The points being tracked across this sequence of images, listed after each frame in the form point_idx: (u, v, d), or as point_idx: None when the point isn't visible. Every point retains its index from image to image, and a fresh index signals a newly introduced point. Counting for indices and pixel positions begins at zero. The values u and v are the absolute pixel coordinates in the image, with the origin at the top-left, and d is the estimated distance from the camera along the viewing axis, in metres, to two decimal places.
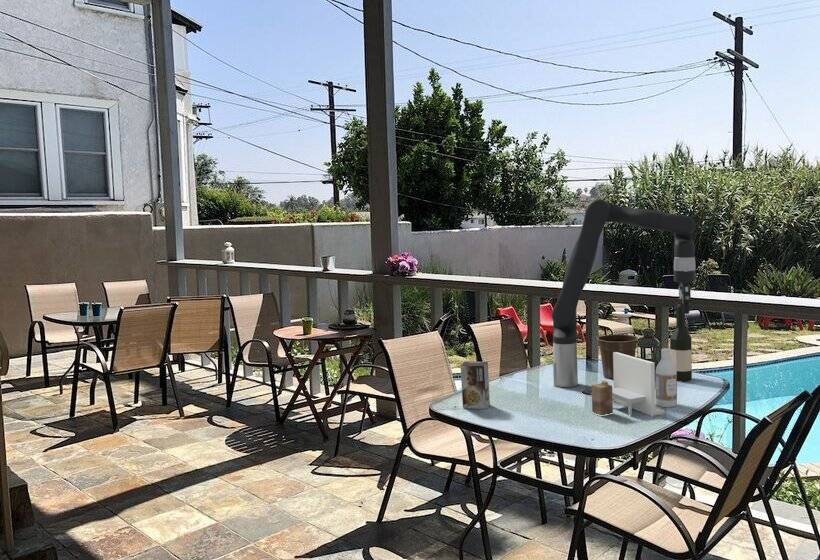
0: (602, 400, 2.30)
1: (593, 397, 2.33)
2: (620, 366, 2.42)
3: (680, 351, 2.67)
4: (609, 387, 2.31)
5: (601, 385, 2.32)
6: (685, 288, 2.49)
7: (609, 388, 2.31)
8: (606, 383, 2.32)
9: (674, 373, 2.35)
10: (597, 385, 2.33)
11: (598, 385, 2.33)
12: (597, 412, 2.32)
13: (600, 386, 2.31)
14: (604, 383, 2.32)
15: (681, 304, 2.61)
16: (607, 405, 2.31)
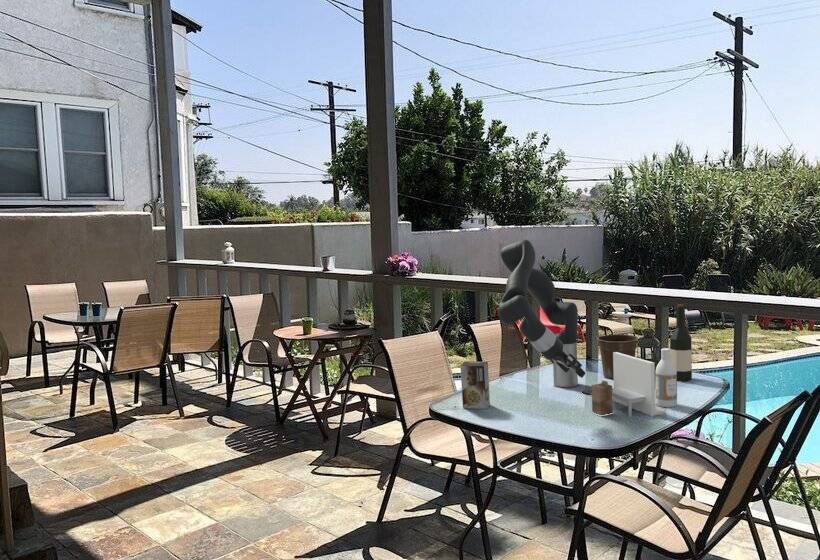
0: (602, 400, 2.30)
1: (593, 397, 2.33)
2: (620, 366, 2.42)
3: (680, 351, 2.67)
4: (609, 387, 2.31)
5: (601, 385, 2.32)
6: (569, 359, 2.18)
7: (609, 388, 2.31)
8: (606, 383, 2.32)
9: (674, 373, 2.35)
10: (597, 385, 2.33)
11: (598, 385, 2.33)
12: (597, 412, 2.32)
13: (600, 386, 2.31)
14: (604, 383, 2.32)
15: (563, 368, 2.30)
16: (607, 405, 2.31)
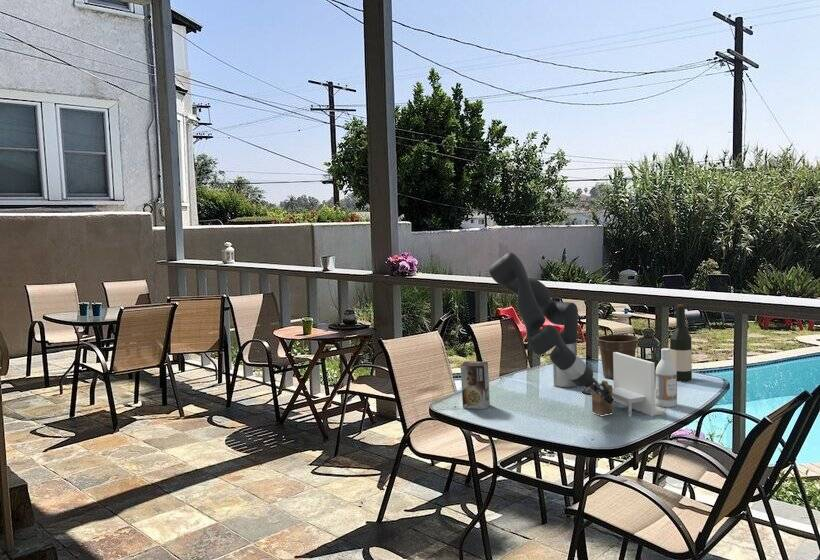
0: (602, 400, 2.30)
1: (593, 397, 2.33)
2: (620, 366, 2.42)
3: (680, 351, 2.67)
4: (609, 387, 2.31)
5: None
6: (601, 389, 2.24)
7: (609, 388, 2.31)
8: (606, 383, 2.32)
9: (674, 373, 2.35)
10: None
11: None
12: (597, 412, 2.32)
13: None
14: (604, 383, 2.32)
15: None
16: (607, 405, 2.31)
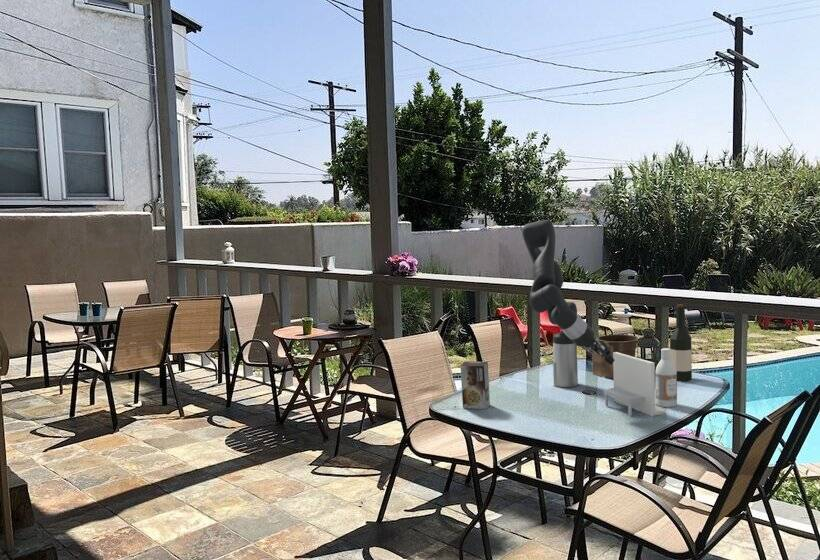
0: (603, 360, 2.29)
1: (594, 358, 2.32)
2: (620, 366, 2.42)
3: (680, 351, 2.67)
4: (610, 348, 2.30)
5: None
6: (602, 348, 2.23)
7: (610, 349, 2.30)
8: (607, 344, 2.31)
9: (674, 373, 2.35)
10: None
11: None
12: (598, 373, 2.31)
13: None
14: (605, 344, 2.31)
15: None
16: (608, 366, 2.30)
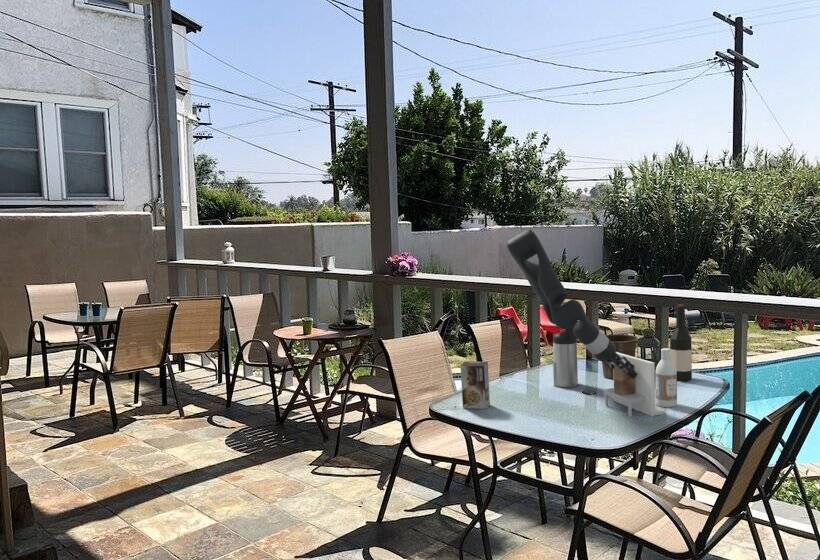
0: (624, 379, 2.33)
1: (615, 376, 2.36)
2: None
3: (680, 351, 2.67)
4: None
5: None
6: (622, 361, 2.26)
7: None
8: None
9: (674, 373, 2.35)
10: None
11: None
12: (619, 391, 2.34)
13: None
14: None
15: None
16: (630, 384, 2.34)
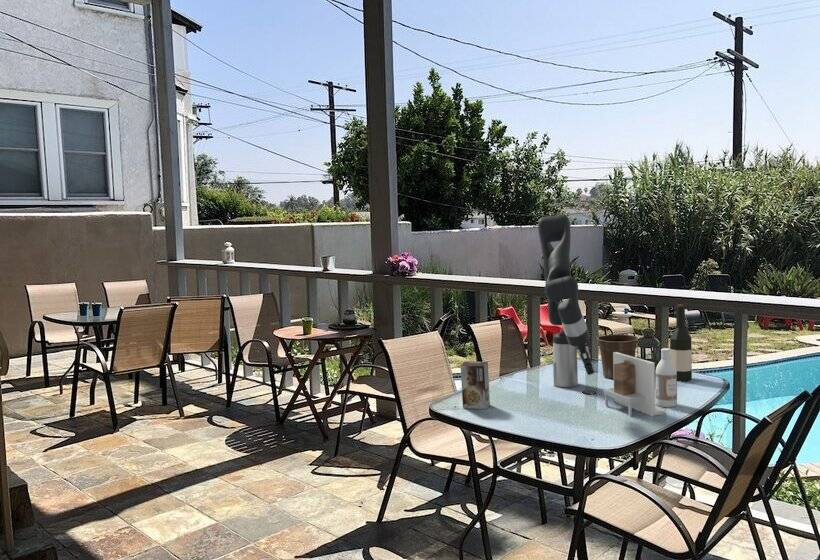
0: (624, 379, 2.33)
1: (615, 376, 2.36)
2: None
3: (680, 351, 2.67)
4: (631, 366, 2.33)
5: (623, 364, 2.35)
6: (583, 356, 2.24)
7: (631, 367, 2.33)
8: (628, 362, 2.34)
9: (674, 373, 2.35)
10: (619, 364, 2.35)
11: (620, 364, 2.35)
12: (619, 391, 2.34)
13: (622, 365, 2.34)
14: (626, 362, 2.35)
15: None
16: (629, 384, 2.34)
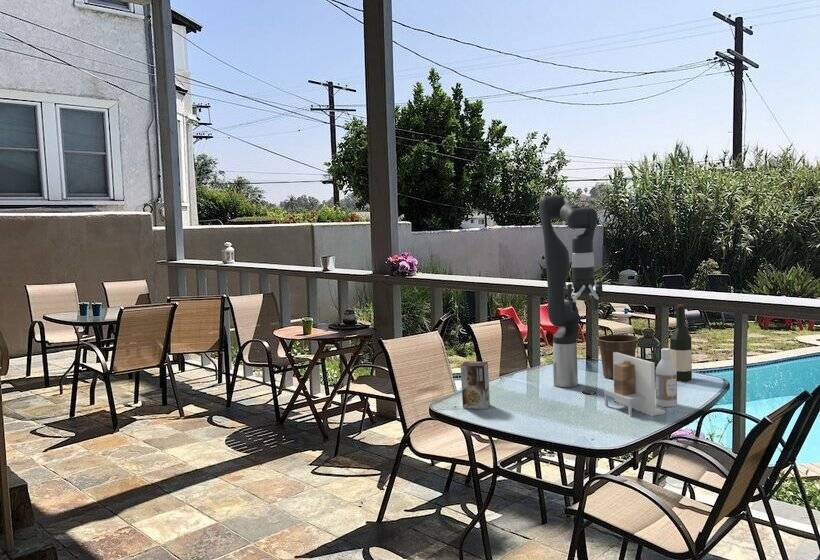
0: (624, 379, 2.33)
1: (615, 376, 2.36)
2: None
3: (680, 351, 2.67)
4: (631, 366, 2.33)
5: (623, 364, 2.35)
6: (566, 285, 2.37)
7: (631, 367, 2.33)
8: (628, 362, 2.34)
9: (674, 373, 2.35)
10: (619, 364, 2.35)
11: (620, 364, 2.35)
12: (619, 391, 2.34)
13: (622, 365, 2.34)
14: (626, 362, 2.35)
15: (592, 303, 2.42)
16: (629, 384, 2.34)
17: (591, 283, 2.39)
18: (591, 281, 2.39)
